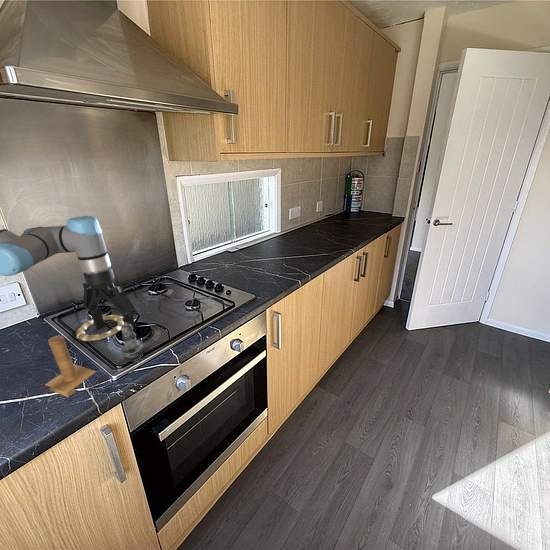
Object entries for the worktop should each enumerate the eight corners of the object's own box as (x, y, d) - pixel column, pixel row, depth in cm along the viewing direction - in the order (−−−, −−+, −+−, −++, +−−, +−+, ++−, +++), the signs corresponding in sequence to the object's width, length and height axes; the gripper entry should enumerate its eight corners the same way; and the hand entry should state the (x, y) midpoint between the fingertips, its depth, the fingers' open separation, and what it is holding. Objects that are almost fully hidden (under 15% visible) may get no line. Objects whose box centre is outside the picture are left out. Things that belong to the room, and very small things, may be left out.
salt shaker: (138, 348, 88) (129, 314, 83) (150, 355, 85) (141, 320, 80) (119, 359, 83) (108, 323, 79) (130, 367, 80) (120, 330, 76)
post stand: (46, 389, 74) (27, 345, 68) (76, 368, 81) (60, 327, 75) (68, 397, 71) (49, 352, 66) (97, 375, 78) (82, 332, 72)
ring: (67, 339, 94) (64, 333, 93) (105, 316, 106) (104, 311, 105) (99, 348, 89) (97, 341, 88) (136, 323, 101) (134, 317, 100)
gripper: (139, 269, 85) (154, 330, 93) (79, 261, 94) (98, 318, 102) (118, 279, 79) (136, 344, 87) (56, 270, 87) (78, 329, 96)
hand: (116, 330), depth 95 cm, fingers open, 13 cm apart
